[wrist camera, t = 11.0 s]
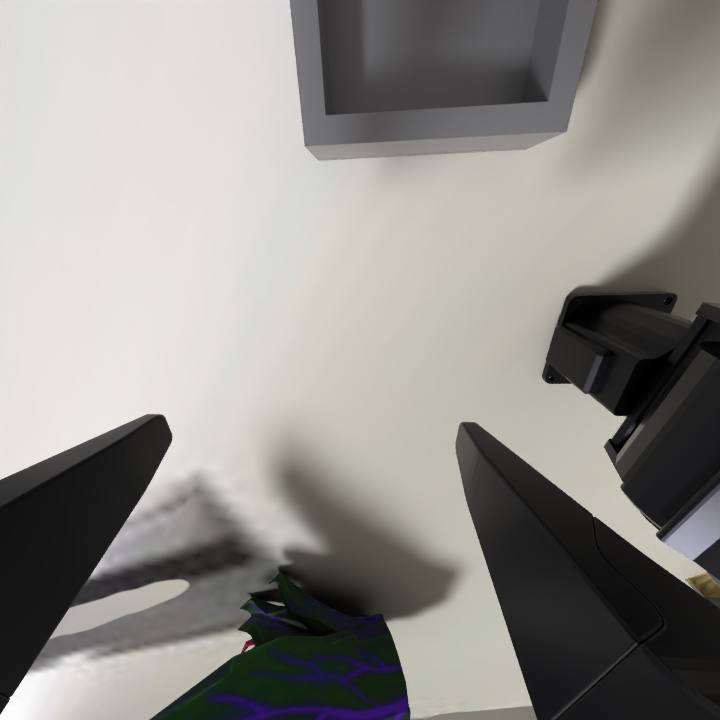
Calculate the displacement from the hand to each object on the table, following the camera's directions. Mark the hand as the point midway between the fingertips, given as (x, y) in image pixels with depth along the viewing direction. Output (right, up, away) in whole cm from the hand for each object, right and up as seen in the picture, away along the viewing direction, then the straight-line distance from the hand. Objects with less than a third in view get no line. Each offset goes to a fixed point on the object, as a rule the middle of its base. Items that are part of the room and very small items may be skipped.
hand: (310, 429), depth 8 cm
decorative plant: (-7, -30, +30) cm, 43 cm away
